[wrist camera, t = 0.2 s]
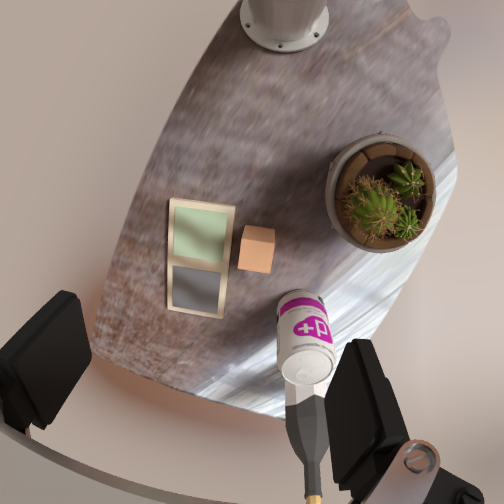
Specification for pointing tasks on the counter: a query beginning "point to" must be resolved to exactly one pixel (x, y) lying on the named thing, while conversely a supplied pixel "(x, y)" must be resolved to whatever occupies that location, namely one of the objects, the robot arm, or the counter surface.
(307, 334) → the supplement can
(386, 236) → the flowerpot
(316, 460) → the wine bottle
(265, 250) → the block
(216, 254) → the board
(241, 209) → the counter surface
